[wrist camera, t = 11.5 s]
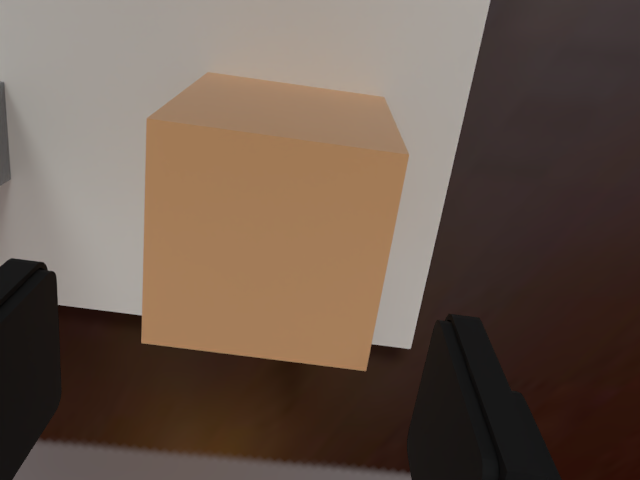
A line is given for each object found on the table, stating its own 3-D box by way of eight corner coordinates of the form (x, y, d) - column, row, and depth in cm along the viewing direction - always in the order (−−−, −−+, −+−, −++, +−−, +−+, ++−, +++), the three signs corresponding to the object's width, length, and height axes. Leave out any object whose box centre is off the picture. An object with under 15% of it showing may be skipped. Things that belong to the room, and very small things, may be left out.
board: (-219, -115, 20) (-259, -121, 19) (482, -11, 21) (492, -10, 20) (-149, 259, 26) (-176, 275, 25) (406, 330, 27) (410, 349, 25)
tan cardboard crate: (207, 71, 21) (146, 118, 14) (384, 96, 21) (409, 154, 14) (197, 235, 24) (141, 343, 17) (356, 256, 24) (366, 371, 17)
